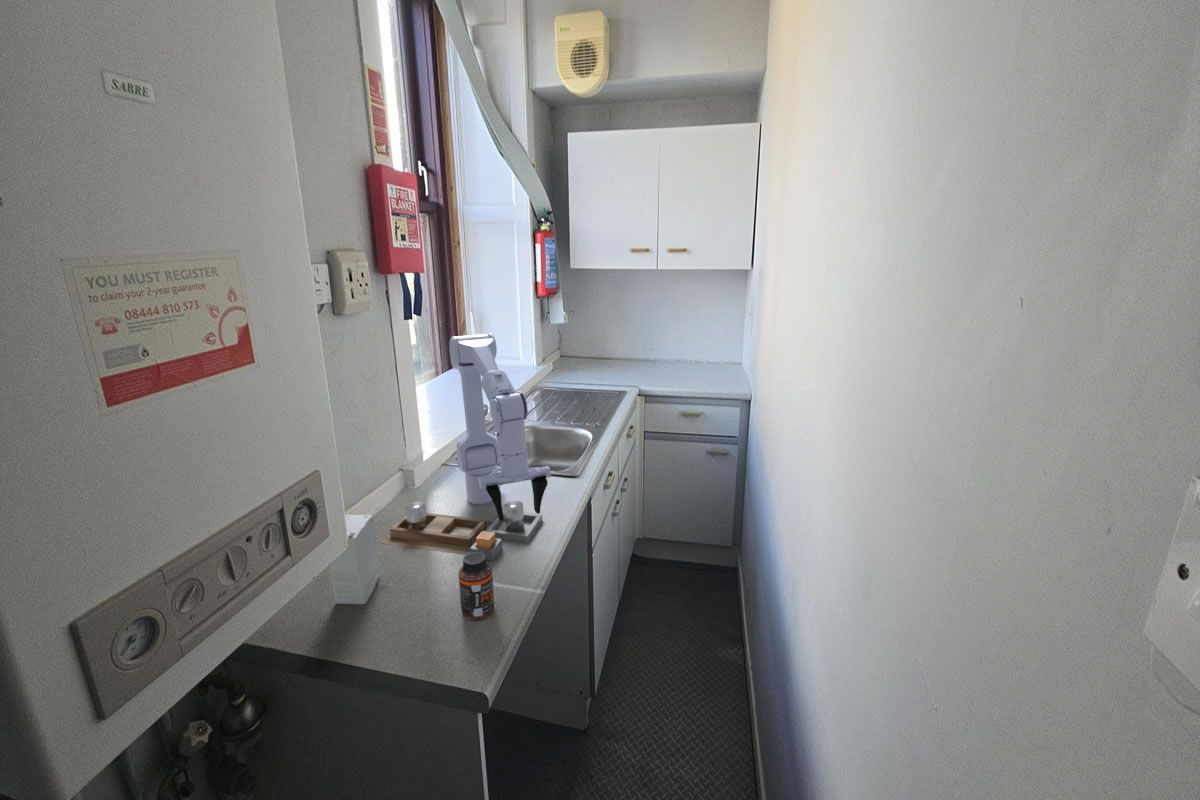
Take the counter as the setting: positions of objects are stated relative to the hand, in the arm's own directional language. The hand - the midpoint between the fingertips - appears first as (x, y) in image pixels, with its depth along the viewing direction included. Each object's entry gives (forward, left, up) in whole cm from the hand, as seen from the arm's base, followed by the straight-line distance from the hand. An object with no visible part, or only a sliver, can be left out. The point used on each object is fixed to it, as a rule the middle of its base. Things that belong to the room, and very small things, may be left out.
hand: (519, 515), depth 114 cm
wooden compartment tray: (-4, -22, -10) cm, 24 cm away
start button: (+1, -8, -8) cm, 11 cm away
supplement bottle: (+18, -2, -11) cm, 21 cm away
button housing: (+1, -8, -10) cm, 13 cm away
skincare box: (+18, -27, -11) cm, 34 cm away
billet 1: (-4, -27, -9) cm, 29 cm away
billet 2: (-10, -6, -10) cm, 15 cm away
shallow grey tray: (-10, -6, -10) cm, 16 cm away
